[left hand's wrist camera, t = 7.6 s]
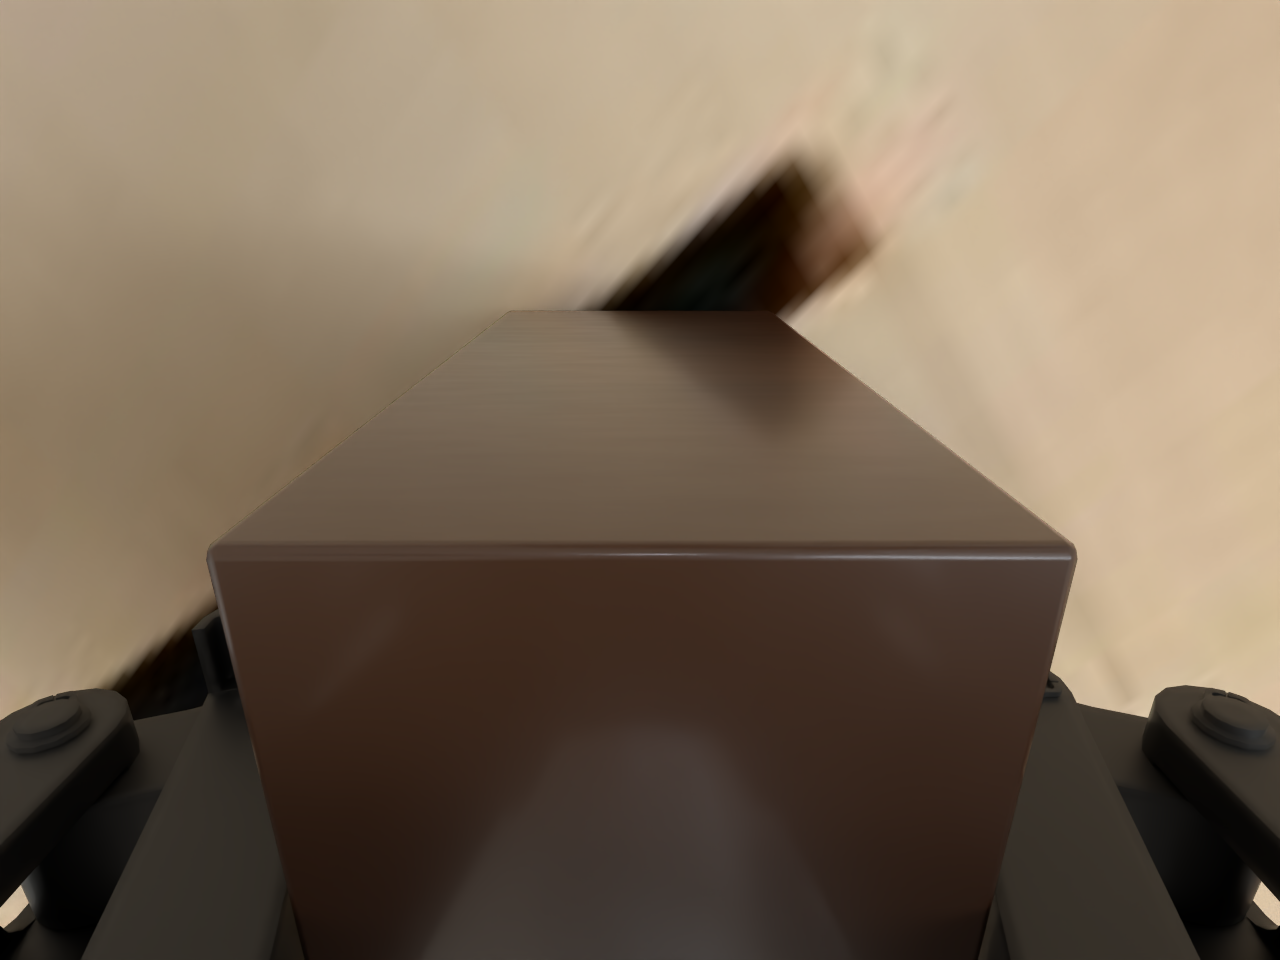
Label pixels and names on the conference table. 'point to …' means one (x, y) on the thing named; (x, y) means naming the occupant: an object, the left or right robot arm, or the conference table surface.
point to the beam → (641, 657)
